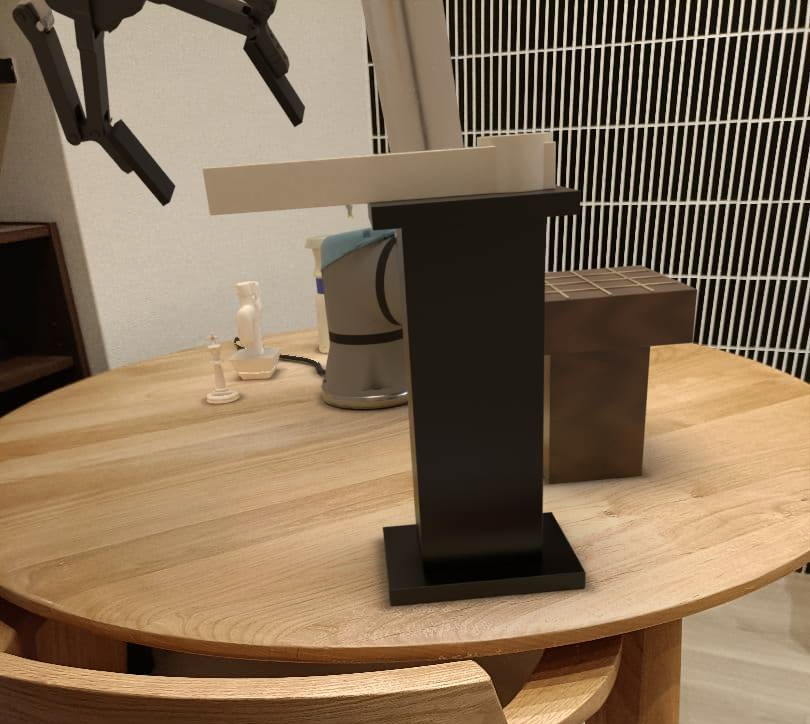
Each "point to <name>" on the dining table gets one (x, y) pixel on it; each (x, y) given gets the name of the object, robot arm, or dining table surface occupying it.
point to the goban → (604, 365)
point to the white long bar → (385, 176)
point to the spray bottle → (321, 287)
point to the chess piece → (219, 374)
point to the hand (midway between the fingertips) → (232, 158)
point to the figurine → (252, 335)
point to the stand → (475, 397)
